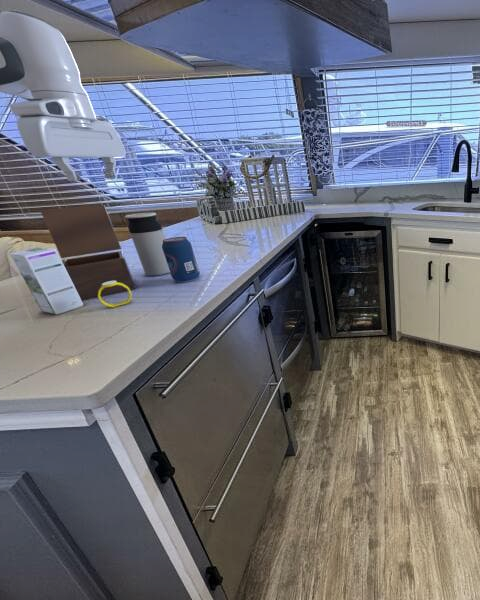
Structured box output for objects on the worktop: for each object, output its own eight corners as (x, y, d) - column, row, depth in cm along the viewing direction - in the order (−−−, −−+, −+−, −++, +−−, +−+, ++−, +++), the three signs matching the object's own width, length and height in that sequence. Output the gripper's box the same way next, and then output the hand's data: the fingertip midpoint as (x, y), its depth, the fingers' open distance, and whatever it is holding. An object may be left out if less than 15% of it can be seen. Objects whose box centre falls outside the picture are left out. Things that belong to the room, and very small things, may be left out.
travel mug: (181, 270, 103) (162, 212, 96) (154, 277, 97) (132, 217, 90) (167, 267, 107) (148, 212, 100) (140, 274, 100) (118, 216, 93)
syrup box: (85, 305, 79) (57, 247, 73) (55, 315, 74) (22, 254, 68) (70, 303, 80) (42, 246, 75) (40, 313, 75) (7, 252, 70)
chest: (135, 288, 88) (123, 258, 85) (73, 302, 81) (57, 268, 77) (133, 279, 96) (122, 250, 93) (76, 290, 89) (62, 259, 86)
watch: (134, 300, 81) (125, 277, 78) (135, 303, 79) (126, 280, 76) (103, 307, 77) (93, 284, 75) (103, 310, 75) (93, 287, 73)
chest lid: (104, 204, 89) (104, 205, 90) (40, 210, 82) (40, 210, 82) (121, 249, 92) (121, 249, 93) (61, 258, 85) (61, 258, 86)
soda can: (169, 281, 93) (154, 240, 89) (193, 274, 99) (181, 235, 94) (181, 284, 90) (167, 242, 85) (205, 277, 95) (193, 237, 90)
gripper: (96, 117, 79) (118, 177, 84) (-2, 104, 60) (35, 182, 65) (121, 116, 78) (141, 176, 84) (30, 102, 60) (64, 181, 65)
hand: (94, 179), depth 75 cm, fingers open, 8 cm apart
